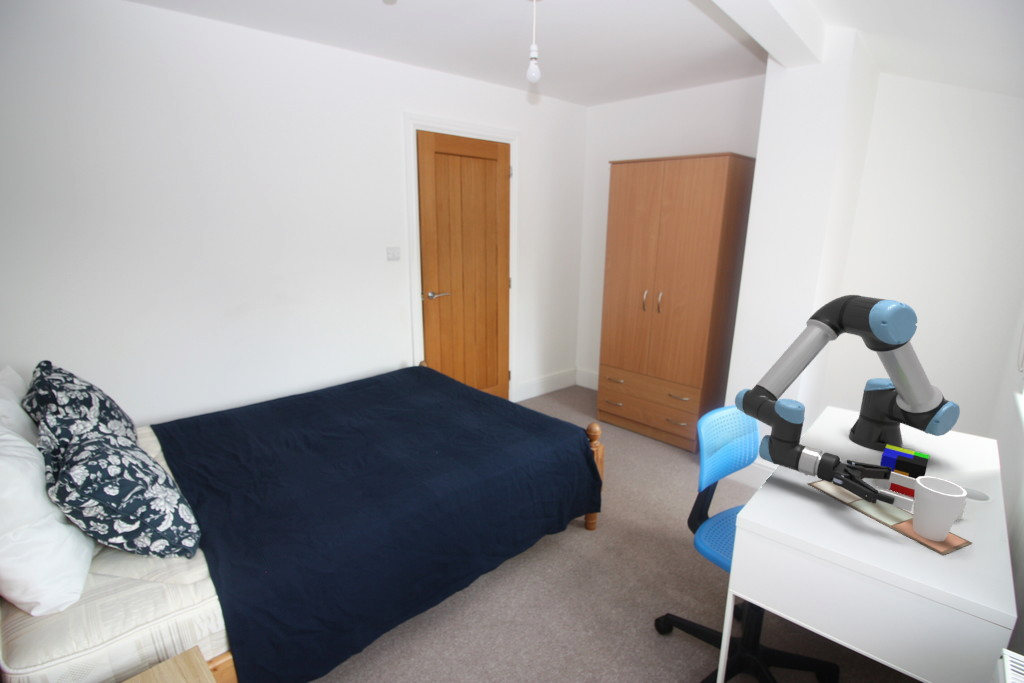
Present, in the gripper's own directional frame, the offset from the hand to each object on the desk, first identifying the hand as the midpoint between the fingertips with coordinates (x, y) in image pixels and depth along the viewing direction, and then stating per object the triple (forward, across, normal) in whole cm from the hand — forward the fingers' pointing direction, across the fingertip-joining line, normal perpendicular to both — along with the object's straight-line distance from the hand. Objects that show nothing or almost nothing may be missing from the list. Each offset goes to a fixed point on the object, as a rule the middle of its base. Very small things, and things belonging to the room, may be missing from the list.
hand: (916, 495), depth 122 cm
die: (+6, -14, -9) cm, 18 cm away
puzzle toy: (-6, -24, -9) cm, 26 cm away
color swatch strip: (-6, -4, -9) cm, 12 cm away
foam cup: (+4, 0, -9) cm, 10 cm away
